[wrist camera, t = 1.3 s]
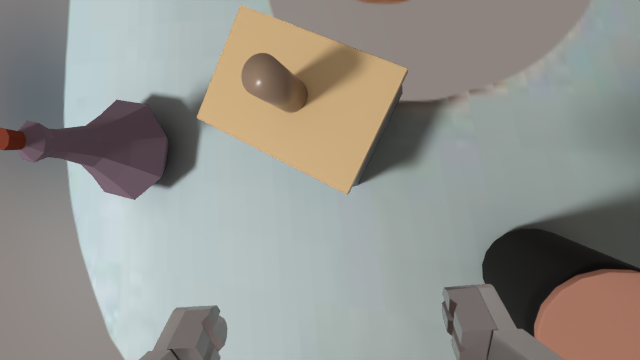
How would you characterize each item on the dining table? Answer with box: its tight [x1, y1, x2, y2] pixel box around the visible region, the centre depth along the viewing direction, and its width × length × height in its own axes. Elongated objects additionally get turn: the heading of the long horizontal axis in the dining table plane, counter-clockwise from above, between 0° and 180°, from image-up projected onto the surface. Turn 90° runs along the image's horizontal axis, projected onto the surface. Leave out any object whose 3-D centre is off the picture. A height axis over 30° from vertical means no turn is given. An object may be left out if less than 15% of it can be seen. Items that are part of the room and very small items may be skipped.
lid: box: [197, 5, 408, 194], centre depth 34 cm, size 15×22×11 cm
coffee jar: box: [482, 229, 640, 360], centre depth 29 cm, size 11×11×18 cm
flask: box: [0, 100, 169, 200], centre depth 44 cm, size 16×16×20 cm
